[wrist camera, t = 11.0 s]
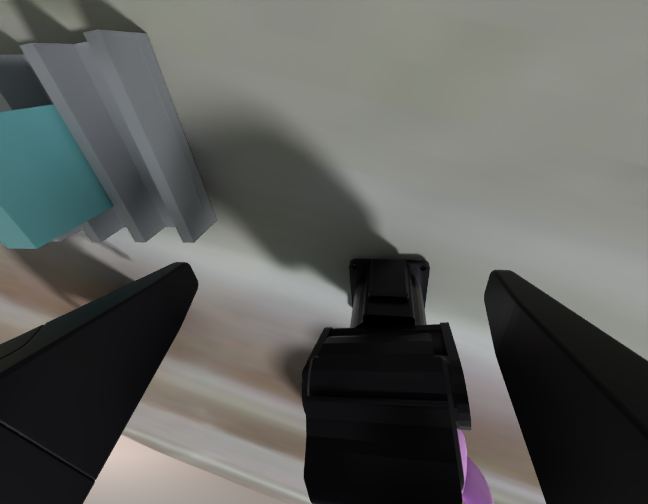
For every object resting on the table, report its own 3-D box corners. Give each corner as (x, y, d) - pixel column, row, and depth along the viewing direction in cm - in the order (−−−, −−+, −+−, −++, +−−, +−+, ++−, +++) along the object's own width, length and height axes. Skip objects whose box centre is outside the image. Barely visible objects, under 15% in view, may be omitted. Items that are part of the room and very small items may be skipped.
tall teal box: (134, 194, 23) (37, 248, 17) (110, 195, 24) (7, 248, 17) (84, 99, 19) (-70, 122, 13) (56, 103, 20) (-105, 127, 13)
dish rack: (217, 220, 24) (194, 242, 21) (85, 222, 27) (51, 241, 25) (146, 33, 17) (98, 29, 14) (-22, 65, 20) (-88, 67, 17)
